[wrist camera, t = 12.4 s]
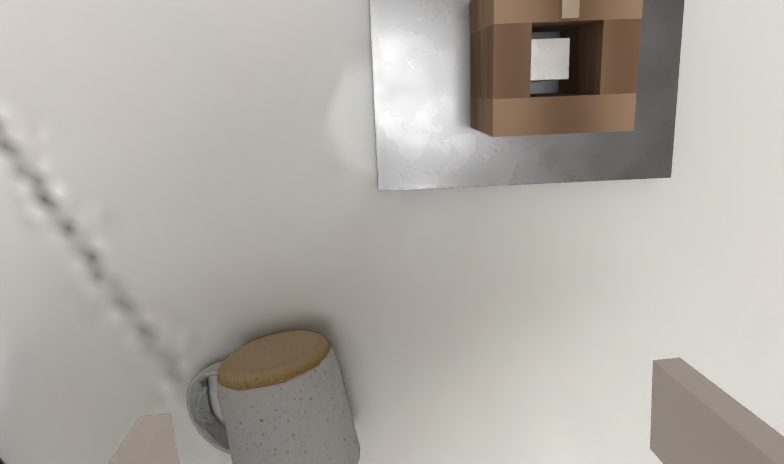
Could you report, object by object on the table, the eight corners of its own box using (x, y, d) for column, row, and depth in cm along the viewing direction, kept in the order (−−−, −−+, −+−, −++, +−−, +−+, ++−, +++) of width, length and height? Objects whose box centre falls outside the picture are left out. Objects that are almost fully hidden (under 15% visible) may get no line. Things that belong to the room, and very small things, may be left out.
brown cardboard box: (470, 127, 33) (494, 137, 27) (470, 1, 31) (495, -20, 25) (587, 122, 33) (636, 131, 27) (593, -4, 31) (648, -25, 25)
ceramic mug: (335, 313, 36) (324, 368, 29) (362, 422, 38) (359, 500, 31) (178, 346, 37) (127, 409, 29) (213, 452, 38) (174, 537, 31)
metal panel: (378, 188, 35) (379, 202, 30) (366, -58, 31) (366, -87, 26) (662, 175, 35) (709, 187, 30) (679, -68, 32) (736, -98, 27)
